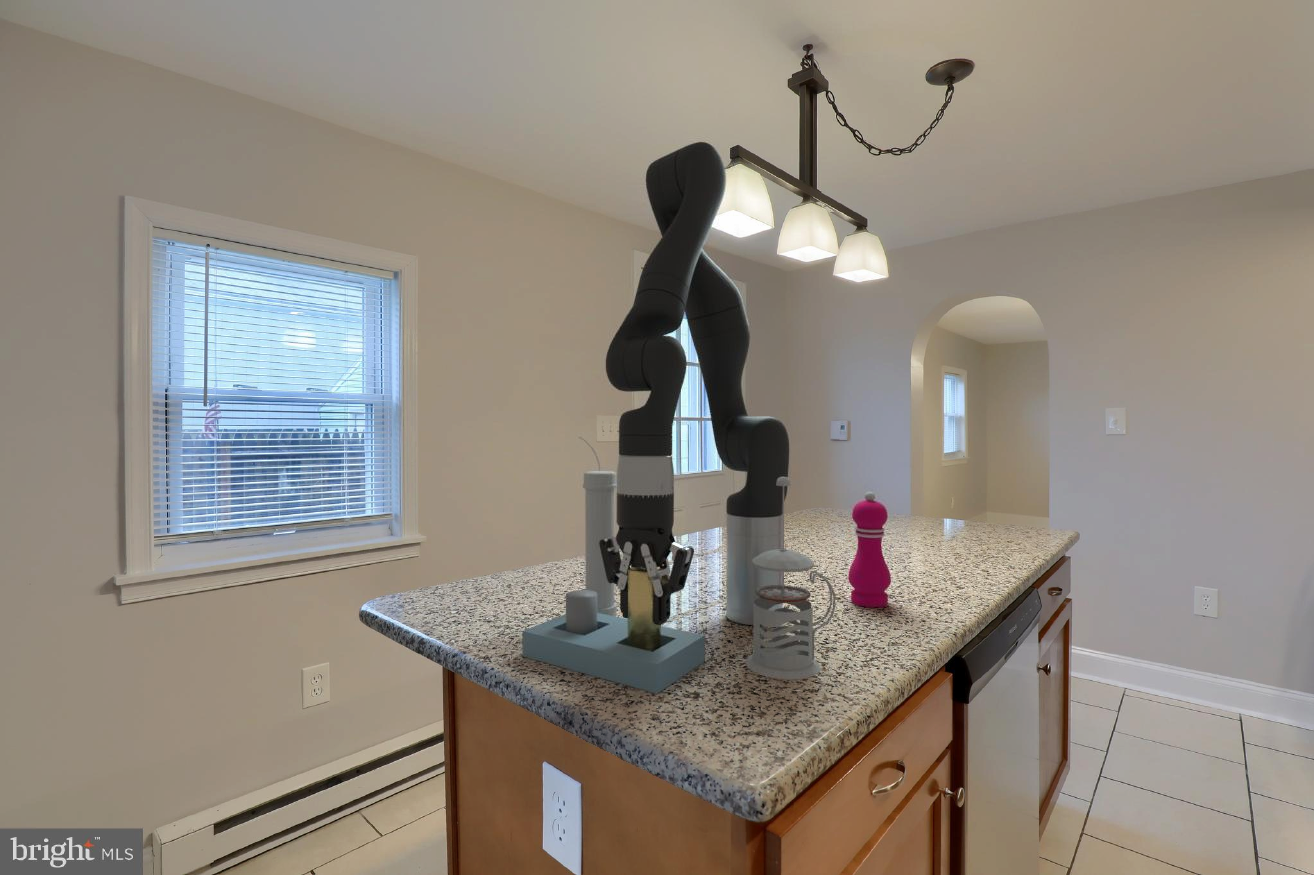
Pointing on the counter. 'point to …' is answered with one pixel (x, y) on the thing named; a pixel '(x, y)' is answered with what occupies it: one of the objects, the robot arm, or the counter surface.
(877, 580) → the pepper mill
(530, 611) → the counter surface
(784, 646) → the french press
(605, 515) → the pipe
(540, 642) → the jig
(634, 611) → the gold cylinder
